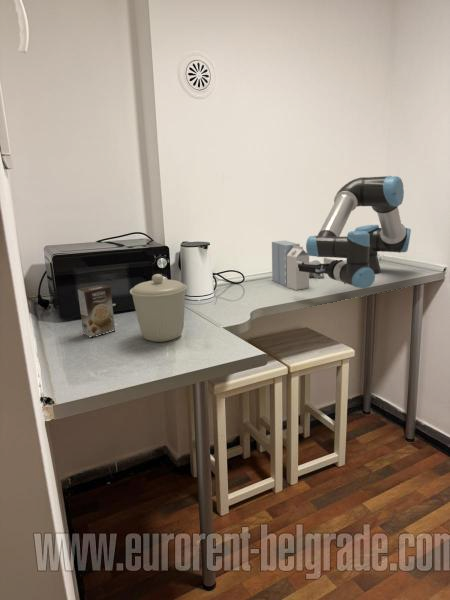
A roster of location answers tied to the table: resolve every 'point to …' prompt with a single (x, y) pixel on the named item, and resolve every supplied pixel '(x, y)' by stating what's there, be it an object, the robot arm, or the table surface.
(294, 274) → the milk carton
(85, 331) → the coffee box
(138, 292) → the canister
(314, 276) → the grey skull
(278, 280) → the pack
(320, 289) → the table surface
